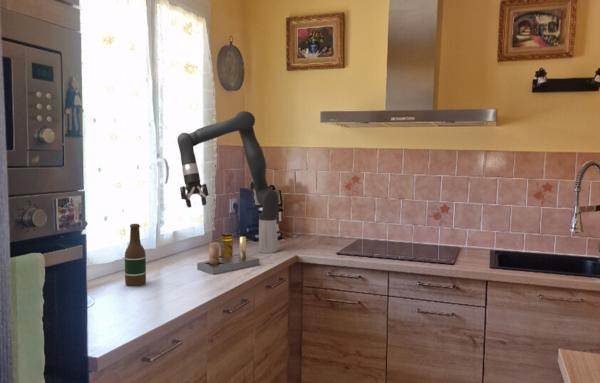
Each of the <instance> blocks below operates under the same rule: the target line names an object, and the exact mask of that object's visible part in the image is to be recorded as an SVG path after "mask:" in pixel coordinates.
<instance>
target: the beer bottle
mask: <svg viewBox="0 0 600 383" xmlns="http://www.w3.org/2000/svg"><path fill="white" fill-rule="evenodd" d="M140 228H141V225H140V223H131V224H130V225H129V229H130V232H129V233H130V234H129V244H128V246H127V247H126V250H125V251H124V283H125V286H126V287H128V286H138V287H141V285H143V286H144V285H146V280H147V261H146V260H147V257H146V250H145V248H144V246H143V245H142V243H141V235H140V232H141V231H140Z"/></svg>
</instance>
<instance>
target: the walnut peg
mask: <svg viewBox="0 0 600 383" xmlns="http://www.w3.org/2000/svg"><path fill="white" fill-rule="evenodd" d="M208 246H209V247H208V250H209V251H208V252H209V253H208V256H209V257H208V261H209V265H211V266H215V265H219V256H220V242H209V243H208Z"/></svg>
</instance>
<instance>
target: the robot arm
mask: <svg viewBox="0 0 600 383" xmlns="http://www.w3.org/2000/svg"><path fill="white" fill-rule="evenodd" d="M255 124H256V118H255V116H254V114H253V113H251V112H249V111H245V110H243V111H239V112H238V113H237V114H236V115H235V116H234V117H232V118H230V119H227V120H224V121H221V122H216V123H212V124H209V125H205V126H202V127H200V128H197V129H195V131H192V132H190V133H188V132H181V133H180V134H179V135H178V136H177V144H178V148H179V153H180V162H181V167H182V175H183V181H184V184H185V186H180V187H179V191H180V198H181V200H185V204H186V207H187V208H192V202H191V197H192V196H193V195H197V196H199V197H200V200H201V205H202V206H206V204H207V197H208V196H209V190H208V187H207V184H206V183H203V184H201V178H200V172H199V168H198V164H197V159H196V155H195V151H194V147H195V146H197V145H198V146H199V144H203V143H206V142H209V141H210V140H213V139H217V138H219V137H222V136H224V135H225V136H226V135H227V134H230V133H234V132H238V133H239V135H240V138H241V142H242V147H243V151H244V155H245V160H246V163H247V165H248V169H249V172H250V175H251V178H252V182H253V186H254V191H255V196H256V200H257V203H258V204H259V205H260V206H262V211H261V213H259V215H258V252H259V253H263V254H271V253H272V254H273V253H276V252H277V251H279V250H278V242H279V241H278V240H279V238H278V235H279V234H278V232H277V217H278V215H279V205H280V204H279V201H280V199H279V194H278V192H277V191H276V190H274V189H270V187H269V184H268V182H267V179H266V178H267V177H266V176H267V175H266V174H267V163H266V162H267V161H266V158H265V155H264V151H263V149H262V147H261V144H260V143H259V141H258V139H257V137H256V134H255V129H254V126H255Z"/></svg>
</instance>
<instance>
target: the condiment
mask: <svg viewBox="0 0 600 383" xmlns="http://www.w3.org/2000/svg"><path fill="white" fill-rule="evenodd" d="M233 240H234V239H233V234H232V233H231V232H221V235H220V242H219V259H221V258H227V257H232V256H234V255H233V251H234V250H233V242H234V241H233Z"/></svg>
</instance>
